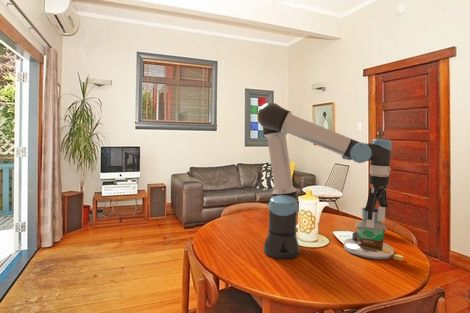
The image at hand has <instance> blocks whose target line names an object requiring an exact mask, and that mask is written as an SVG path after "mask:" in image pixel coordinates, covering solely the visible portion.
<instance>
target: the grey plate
mask: <svg viewBox="0 0 470 313" xmlns="http://www.w3.org/2000/svg"><path fill="white" fill-rule="evenodd" d="M343 248H344V250H345V251H347V252H348V253H349V254H351V255H355V256H357V257H361V258H365V259H370V260H389V259H393V258H394V252H395V250H394V248H393V247H392V246H391V245H390V244H388V243H386V242H383V248H382V249H378V248H370V247H364V246H359V244H358V231H356V230H354V231H352V237H351V238H350V237H349V238H346V239H345V240H344V241H343Z"/></svg>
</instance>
